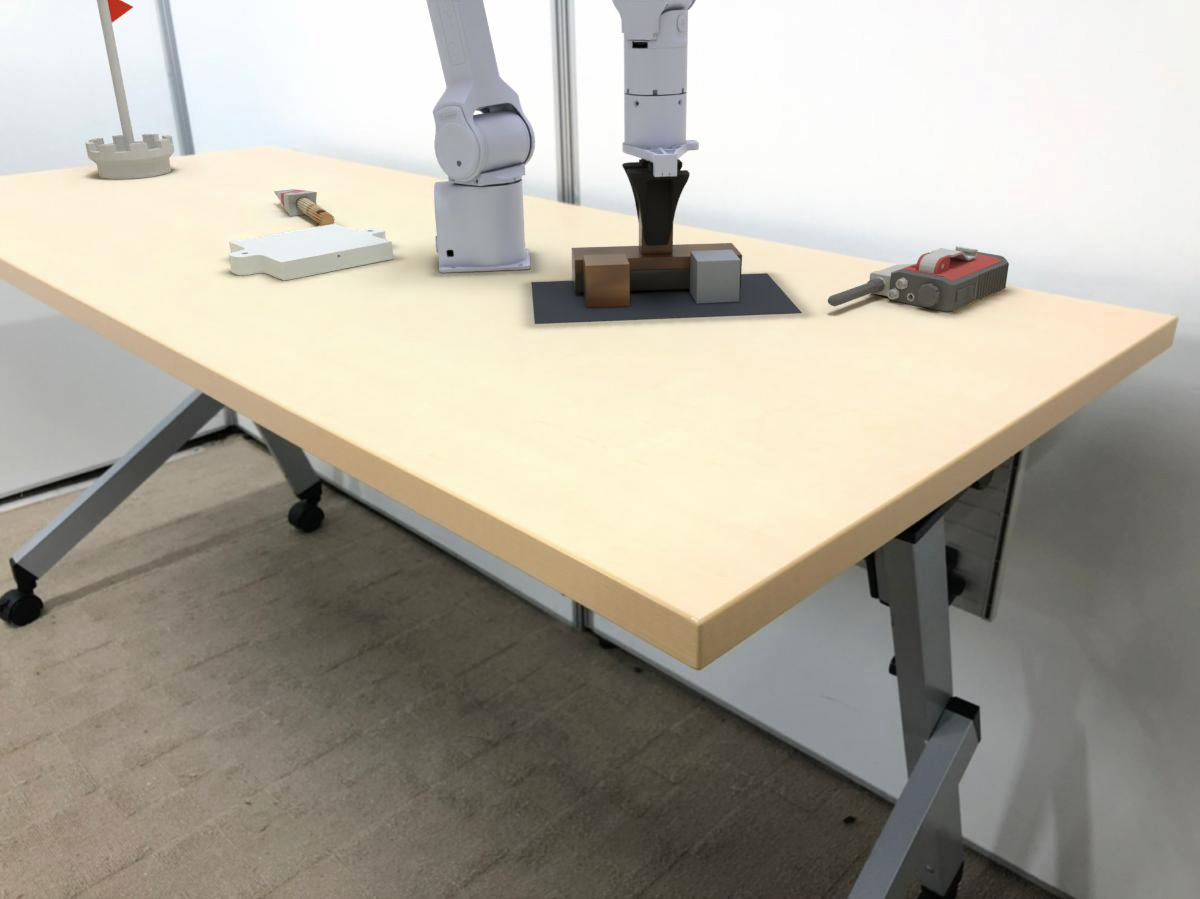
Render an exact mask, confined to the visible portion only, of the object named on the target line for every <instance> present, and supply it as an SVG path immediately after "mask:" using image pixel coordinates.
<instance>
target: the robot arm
mask: <svg viewBox="0 0 1200 899" xmlns="http://www.w3.org/2000/svg"><path fill="white" fill-rule="evenodd" d="M696 1H697V0H611V2H612V4H613V6H614V8H615V10H616V11H617V12H618V14H619V17H620V21H621V34H623V92H624V93H623V110H624V111H623V112H624V113H623V118H624V119H623V120H624V121H623V124H624V126H623V127H624V128H623V129H624V133H623V134H624V135H623V136H624V137H623V138H624V141H623V142H622V143H621V144H622V145H621V150H622V152H623V153H624V154H626V155H629V156H633V157H636V158H639V159H638V161H634V162H633V161H631V162H630V161H629V162H623V163H622V165H621V166H622V168H623V170H624V172H625V174H626V176H627V179H628V181H629V184H630V187H631V191H632V195H633V198H634V205H635V209H636V216H637V222H638V223H639V209H640V215H641V223H642V229H643V235H644V239H645V242H646V245H648V246H651V245H668V242H669V239H670V235H671V231H672V226H673V227H674V220H675V215H676V211H677V207H678V204H679V201H680V197H681V195H682V193H683V191H684V189H685V187H686V185H687V183H688V181H689V178H690V171H689V170H687V169H682V168H683V161H682V160H680V158H681V157H682V156H683V155H685V154H686V153H687V152H689V151H698V150H699V149H700V142H699V141H698V140H696V139H687V104H688V103H687V96H688V95H687V94H688V93H687V92H688V40H689V39H688V36H689V32H688V31H689V30H688V29H689V18H688V17H689V11H690V10H691V8H692V7H693V6H694V4H695V3H696ZM426 4H427V9H428V13H429V14H428V15H429V18H430V21H431V26H432V30H433V35H434V39H435V43H436V48H437V53H438V57H439V61H440V64H441V70H442V73H443V74H442V75H443V79H444V82H445V87H446V88H445V90H444V92H443V93H442V95H441V96H440V98H439V99H438V101H437V103H436V104H435V105H434V108H433V109H432V115H433V120H434V124H435V125H434V126H435V133H434V134H435V135H434V154H435V157H436V158H435V159H436V161H437V163H438V165H439V167H440V168H441V170H442V172H444V173H445V174H446V175H447V177H448V178H447V179H448V181H436V182H435V183H434V184H433V185H434V187H433V188H434V189H433V201H434V202H433V203H434V218H435V233H436V235H435V237H434V238H435V239H434V240H435V251H436V253H437V256H438V257H437V258H438V266H439V267H438V272H439V273H440V274H441V273H442V274H447V273H472V272H473V273H474V272H475V273H476V272H498V271H500V272H502V271H503V272H504V271H526V270H527V271H528V270H530V269H531V260H530V249H529V248H526V234H525V233H526V232H525V214H524V213H525V212H524V190H523V188H524V187H523V177H524V176H525V175H526V165H527V164H528V163H530V161H531V159H532V157H533V155H534V152H535V149H536V136H535V132H534V129H533V126H532V123H531V122H530V120H529V119H528V117H527V116H526V114H525V113H524V111H523V108H522V105H521V101H520V96H519V94H518V93H517V92H516V91H515V90H514V89H513V87H511V86H510V85H509V84H508V83H507V82H506V81H505V80H504V79H503V78H502V77H501V76H500V72H499V68H498V63H497V62H498V61H497V58H496V53H495V49H494V45H493V39H492V36H491V31H490V25H489V21H488V16H487V12H486V8H485V3H484V0H426ZM475 112H480V113H477V114H475Z"/></svg>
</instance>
